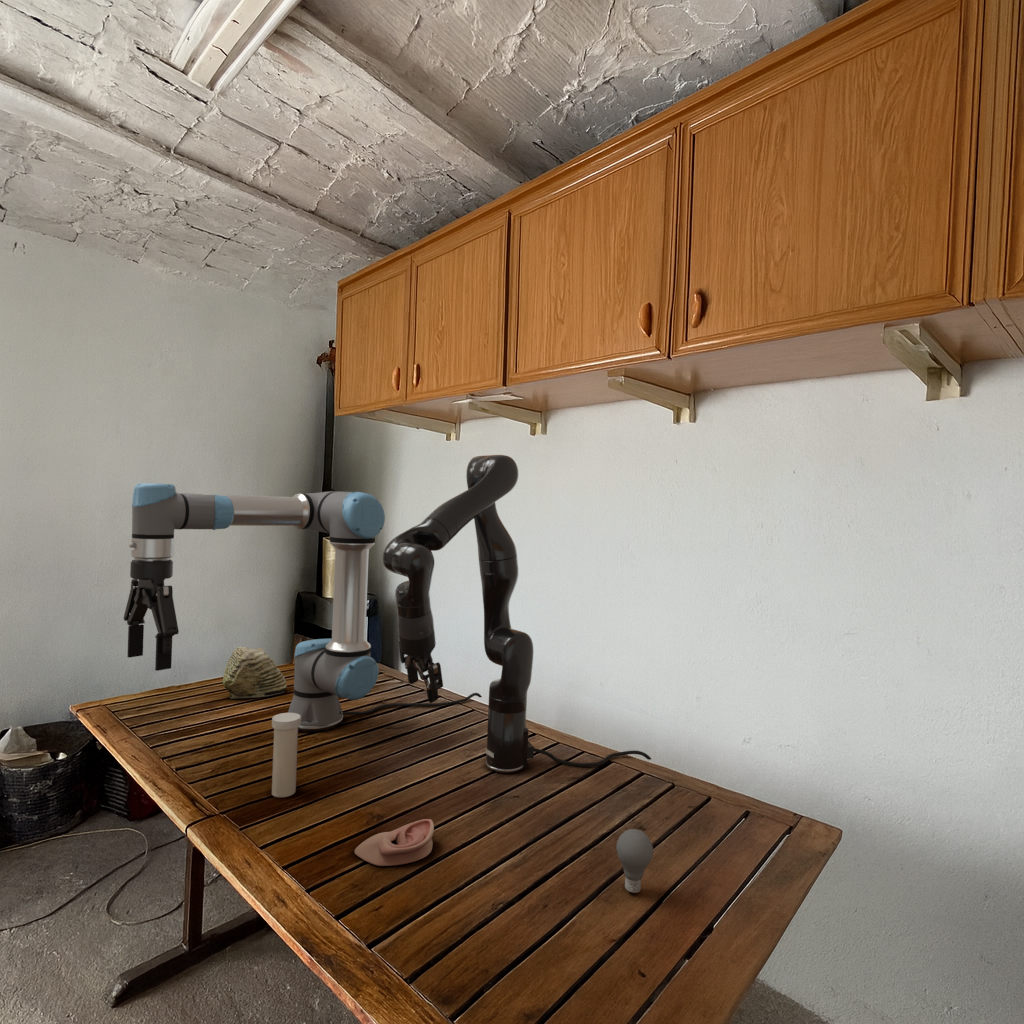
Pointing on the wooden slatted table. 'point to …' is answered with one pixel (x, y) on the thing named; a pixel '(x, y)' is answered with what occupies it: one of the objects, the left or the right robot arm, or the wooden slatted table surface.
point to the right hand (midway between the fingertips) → (423, 691)
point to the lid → (286, 721)
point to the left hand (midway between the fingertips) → (148, 662)
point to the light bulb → (634, 857)
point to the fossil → (252, 674)
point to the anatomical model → (398, 844)
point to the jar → (284, 762)
